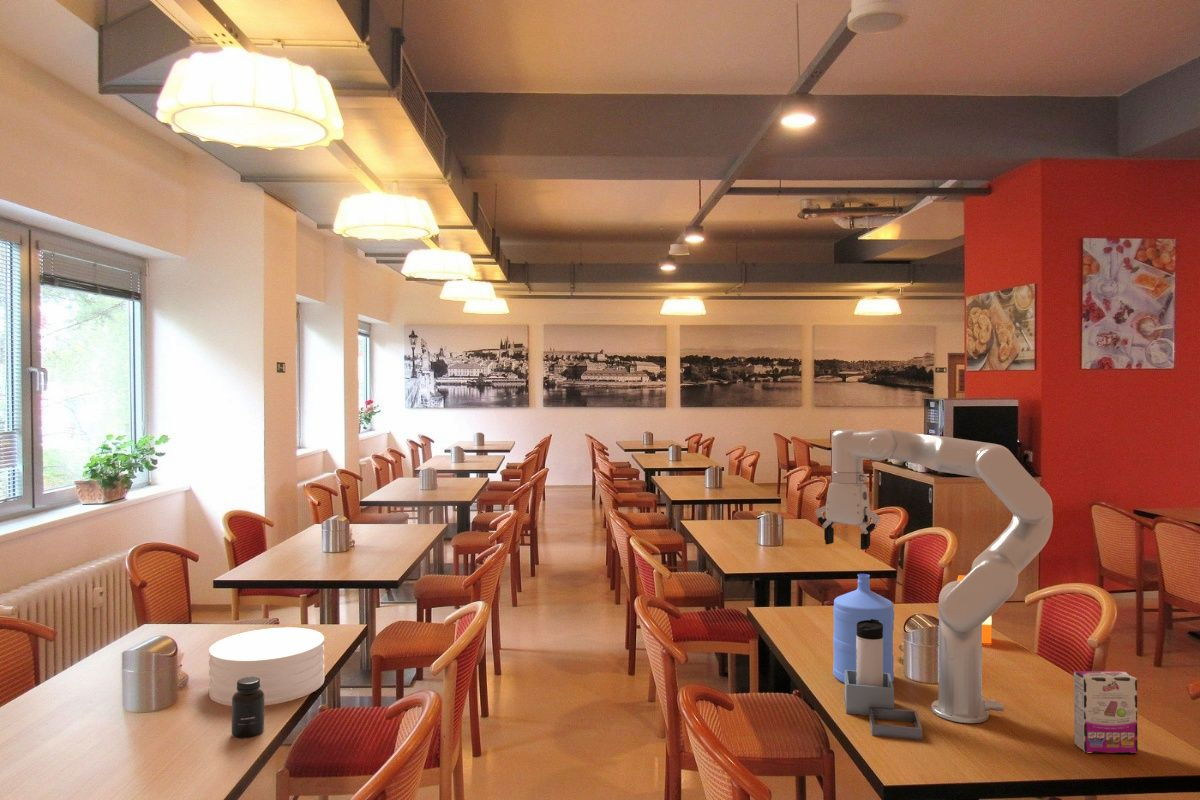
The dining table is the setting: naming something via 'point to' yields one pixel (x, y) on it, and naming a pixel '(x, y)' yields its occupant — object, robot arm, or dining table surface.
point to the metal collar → (892, 730)
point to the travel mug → (869, 653)
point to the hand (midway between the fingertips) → (846, 546)
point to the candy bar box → (1105, 711)
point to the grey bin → (867, 694)
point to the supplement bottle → (248, 708)
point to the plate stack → (268, 663)
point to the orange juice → (983, 624)
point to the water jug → (846, 618)
